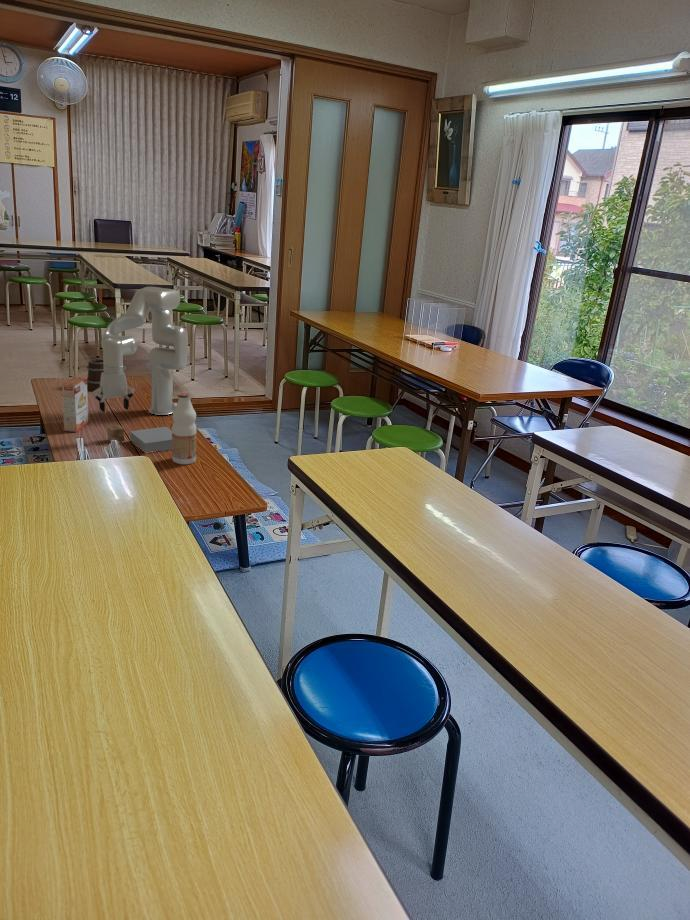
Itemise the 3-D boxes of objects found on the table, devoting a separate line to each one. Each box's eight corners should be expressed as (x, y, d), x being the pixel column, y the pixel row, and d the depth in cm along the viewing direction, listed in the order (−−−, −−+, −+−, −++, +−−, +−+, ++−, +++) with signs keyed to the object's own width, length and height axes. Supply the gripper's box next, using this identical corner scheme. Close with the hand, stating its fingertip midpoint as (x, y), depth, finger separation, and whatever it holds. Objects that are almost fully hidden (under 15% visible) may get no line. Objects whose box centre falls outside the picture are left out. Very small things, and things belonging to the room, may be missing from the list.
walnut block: (119, 438, 289) (119, 425, 287) (124, 442, 286) (123, 428, 284) (108, 439, 286) (107, 426, 284) (112, 443, 283) (111, 430, 281)
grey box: (166, 437, 296) (166, 426, 295) (181, 449, 285) (181, 438, 283) (130, 442, 287) (130, 431, 285) (145, 454, 275) (145, 443, 274)
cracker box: (77, 432, 291) (74, 385, 283) (63, 431, 291) (60, 384, 283) (89, 422, 304) (87, 377, 296) (76, 421, 304) (73, 376, 296)
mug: (90, 392, 345) (88, 364, 340) (84, 386, 354) (82, 358, 349) (121, 390, 354) (120, 362, 348) (114, 384, 363) (113, 357, 357)
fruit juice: (176, 466, 266) (176, 397, 256) (168, 457, 274) (168, 391, 264) (199, 463, 271) (200, 396, 261) (191, 455, 278) (191, 389, 268)
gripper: (130, 366, 283) (131, 405, 288) (88, 368, 272) (90, 409, 278) (137, 370, 277) (138, 410, 283) (95, 373, 267) (96, 414, 273)
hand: (114, 409), depth 281 cm, fingers open, 9 cm apart
